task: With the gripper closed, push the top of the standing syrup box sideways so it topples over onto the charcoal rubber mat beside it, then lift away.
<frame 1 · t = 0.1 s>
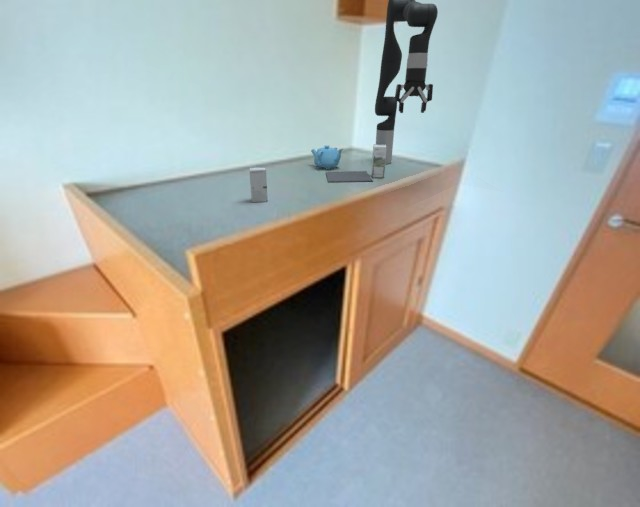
hand: (411, 112, 141), 29 cm above the table, fingers open, 8 cm apart
mat: (348, 177, 165), on the table
teapot: (327, 168, 183), on the table
syrup box: (377, 177, 166), on the table
skincare box: (260, 200, 134), on the table
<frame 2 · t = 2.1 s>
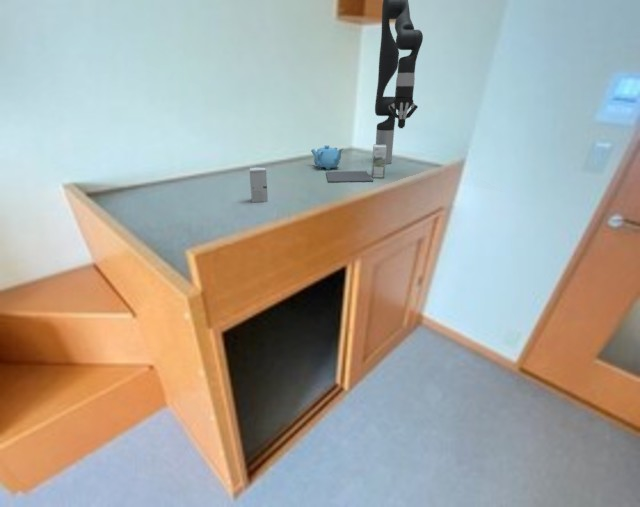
hand: (401, 128, 156), 22 cm above the table, fingers closed
nothing on the table moved.
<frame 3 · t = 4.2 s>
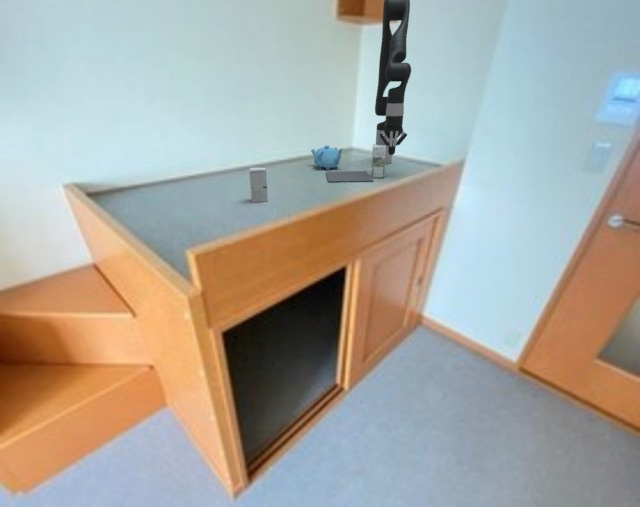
hand: (391, 154, 161), 10 cm above the table, fingers closed
syrup box: (377, 177, 166), on the table, touching gripper, hand
everything else where it was.
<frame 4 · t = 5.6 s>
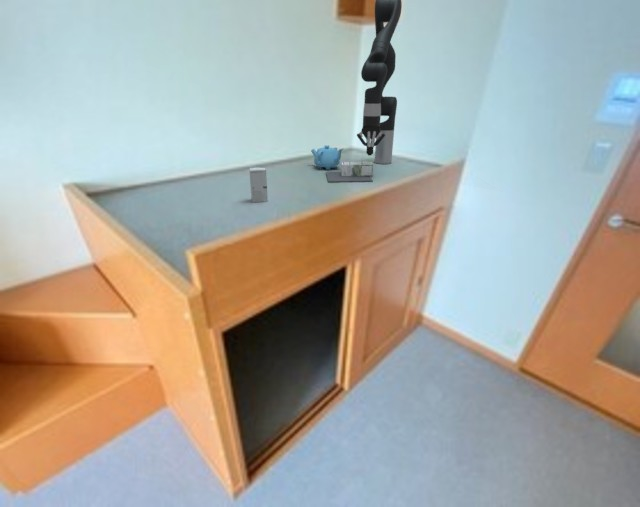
hand: (369, 155, 161), 10 cm above the table, fingers closed
syrup box: (372, 169, 164), point 3 cm above the table, touching mat
everything else where it was.
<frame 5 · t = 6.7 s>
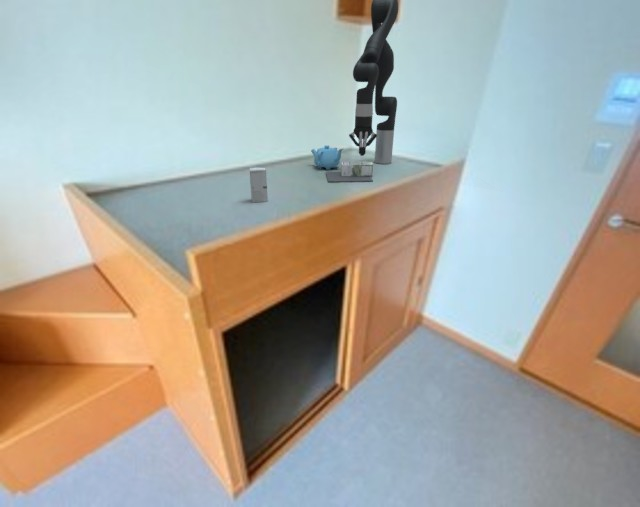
hand: (361, 155, 161), 10 cm above the table, fingers closed
nothing on the table moved.
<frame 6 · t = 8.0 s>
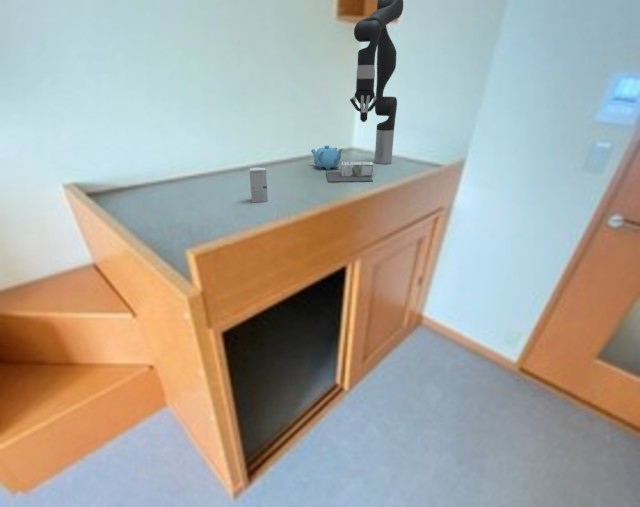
hand: (363, 121, 154), 25 cm above the table, fingers closed
nothing on the table moved.
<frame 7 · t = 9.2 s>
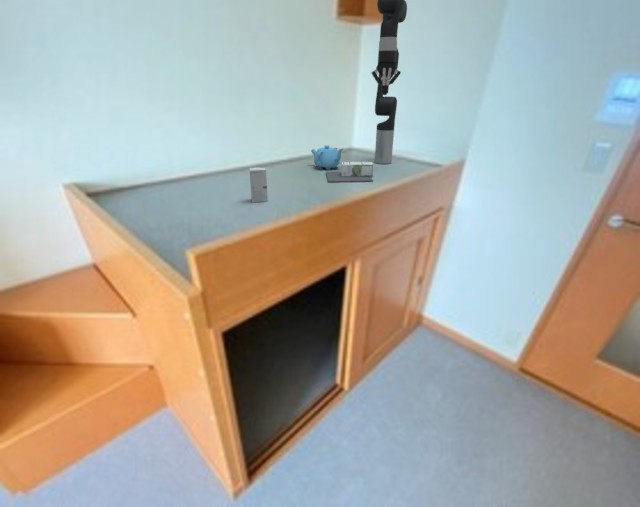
hand: (384, 94, 156), 35 cm above the table, fingers closed
nothing on the table moved.
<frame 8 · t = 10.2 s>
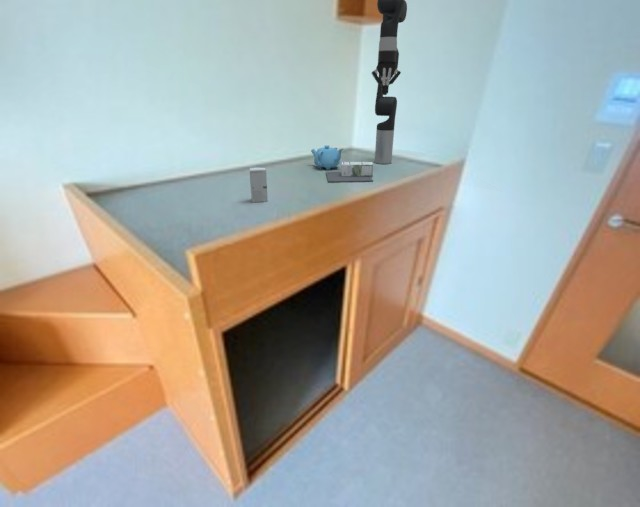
hand: (384, 94, 156), 35 cm above the table, fingers closed
nothing on the table moved.
at the end: syrup box tilted 90°; syrup box touching mat; syrup box inside the target area (1.0 cm from its centre), point 3.5 cm above the table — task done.
